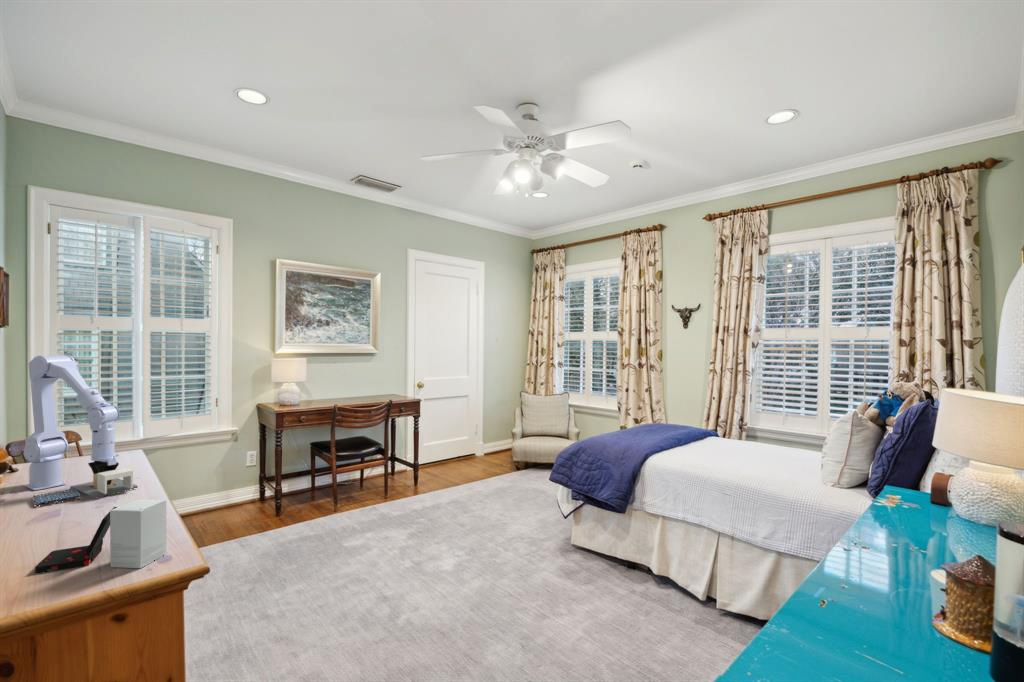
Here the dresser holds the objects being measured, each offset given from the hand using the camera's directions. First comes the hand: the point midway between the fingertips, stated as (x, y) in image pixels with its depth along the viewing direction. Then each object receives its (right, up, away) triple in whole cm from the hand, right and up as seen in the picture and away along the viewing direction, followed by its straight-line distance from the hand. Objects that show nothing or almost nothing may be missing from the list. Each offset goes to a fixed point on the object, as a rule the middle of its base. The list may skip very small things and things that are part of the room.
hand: (103, 483), depth 157 cm
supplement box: (+52, -2, -51) cm, 72 cm away
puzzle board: (0, -2, 0) cm, 2 cm away
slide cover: (+8, 0, -5) cm, 10 cm away
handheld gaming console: (+38, -2, -50) cm, 63 cm away
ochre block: (0, -2, 0) cm, 2 cm away
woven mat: (-5, -2, -11) cm, 12 cm away
